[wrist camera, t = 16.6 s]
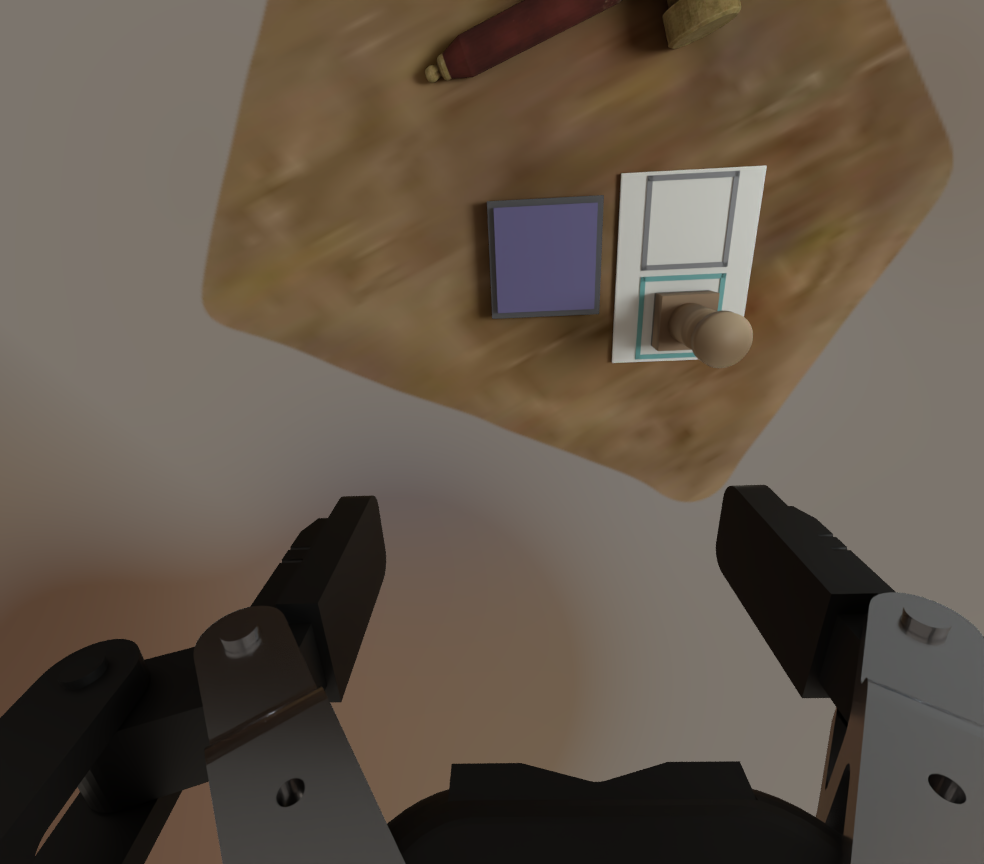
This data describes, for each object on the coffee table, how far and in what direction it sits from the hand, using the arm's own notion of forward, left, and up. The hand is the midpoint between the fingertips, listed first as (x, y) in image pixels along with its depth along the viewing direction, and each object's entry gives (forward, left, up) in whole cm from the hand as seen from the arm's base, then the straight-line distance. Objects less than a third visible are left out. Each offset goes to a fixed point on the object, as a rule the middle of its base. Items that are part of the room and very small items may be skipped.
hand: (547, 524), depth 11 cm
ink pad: (-4, +2, -33) cm, 33 cm away
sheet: (-2, +14, -33) cm, 36 cm away
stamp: (+1, +14, -33) cm, 36 cm away
